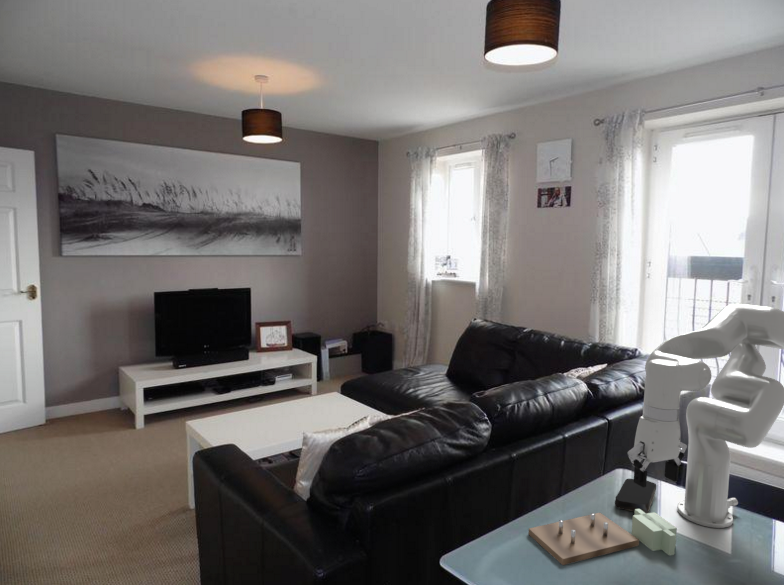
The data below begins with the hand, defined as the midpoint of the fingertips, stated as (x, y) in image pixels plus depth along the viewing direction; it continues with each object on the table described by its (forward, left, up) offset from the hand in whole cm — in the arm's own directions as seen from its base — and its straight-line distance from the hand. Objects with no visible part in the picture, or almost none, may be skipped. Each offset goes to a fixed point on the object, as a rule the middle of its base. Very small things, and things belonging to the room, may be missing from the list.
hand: (655, 482), depth 125 cm
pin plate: (+15, -6, -15) cm, 22 cm away
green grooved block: (-1, 0, -15) cm, 15 cm away
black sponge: (-11, -16, -16) cm, 25 cm away
